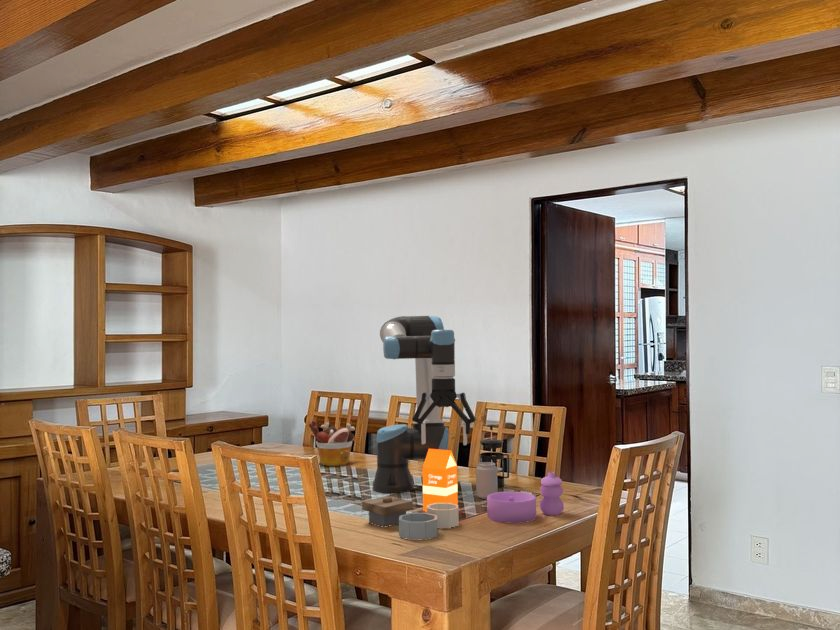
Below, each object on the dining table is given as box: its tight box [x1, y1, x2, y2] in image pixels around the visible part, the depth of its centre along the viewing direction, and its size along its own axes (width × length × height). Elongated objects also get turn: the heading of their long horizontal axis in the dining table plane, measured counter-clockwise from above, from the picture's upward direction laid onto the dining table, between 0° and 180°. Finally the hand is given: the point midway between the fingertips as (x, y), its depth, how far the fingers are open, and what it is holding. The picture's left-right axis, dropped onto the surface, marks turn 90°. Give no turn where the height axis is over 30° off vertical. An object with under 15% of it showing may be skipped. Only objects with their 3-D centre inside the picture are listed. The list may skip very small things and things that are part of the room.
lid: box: [361, 495, 414, 516], centre depth 238 cm, size 11×11×4 cm
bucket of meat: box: [308, 419, 356, 467], centre depth 341 cm, size 20×16×20 cm
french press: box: [479, 424, 510, 489], centre depth 290 cm, size 12×9×23 cm
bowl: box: [426, 503, 460, 529], centre depth 235 cm, size 10×10×6 cm
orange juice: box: [422, 449, 459, 513], centre depth 253 cm, size 8×9×20 cm
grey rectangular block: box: [368, 511, 407, 528], centre depth 238 cm, size 7×9×4 cm
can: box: [475, 461, 499, 500], centre depth 271 cm, size 8×8×12 cm
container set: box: [486, 471, 565, 524], centre depth 245 cm, size 25×15×13 cm, turn 104°
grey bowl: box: [398, 512, 438, 541], centre depth 224 cm, size 11×11×5 cm
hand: (444, 444), depth 248 cm, fingers open, 13 cm apart
